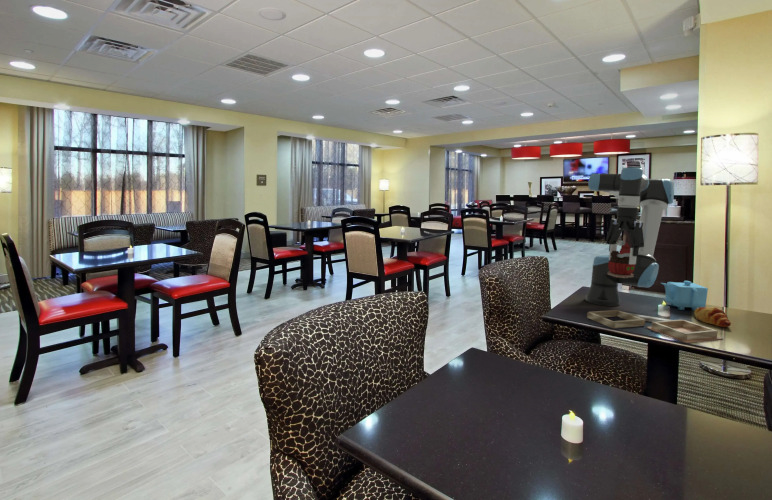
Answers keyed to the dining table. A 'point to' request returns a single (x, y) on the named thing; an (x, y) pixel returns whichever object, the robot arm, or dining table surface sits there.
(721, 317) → the croissant
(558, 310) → the dining table surface
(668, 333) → the square wooden frames
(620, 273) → the cake
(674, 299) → the teapot
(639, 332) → the dining table surface
